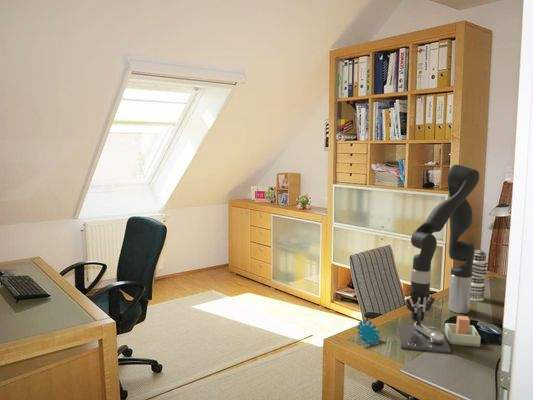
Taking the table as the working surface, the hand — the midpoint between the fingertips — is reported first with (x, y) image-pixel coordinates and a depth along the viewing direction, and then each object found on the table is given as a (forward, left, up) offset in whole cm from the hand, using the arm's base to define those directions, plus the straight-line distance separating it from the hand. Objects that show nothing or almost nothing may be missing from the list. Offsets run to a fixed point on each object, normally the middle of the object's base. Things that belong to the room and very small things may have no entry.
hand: (417, 320), depth 183 cm
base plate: (+7, +1, -5) cm, 9 cm away
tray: (+3, +17, -5) cm, 18 cm away
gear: (+14, -20, -5) cm, 25 cm away
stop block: (+3, +17, -4) cm, 18 cm away
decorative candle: (-51, +35, -5) cm, 62 cm away
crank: (+6, +3, -3) cm, 8 cm away
